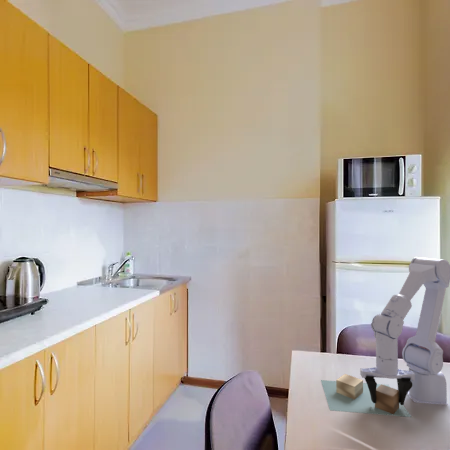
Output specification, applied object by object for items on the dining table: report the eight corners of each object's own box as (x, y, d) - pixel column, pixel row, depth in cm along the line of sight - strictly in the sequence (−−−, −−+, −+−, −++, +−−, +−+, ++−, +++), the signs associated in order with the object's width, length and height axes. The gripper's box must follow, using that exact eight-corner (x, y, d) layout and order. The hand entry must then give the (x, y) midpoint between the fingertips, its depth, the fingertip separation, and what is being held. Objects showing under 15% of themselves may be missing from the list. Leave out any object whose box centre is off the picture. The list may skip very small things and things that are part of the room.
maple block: (363, 392, 100) (362, 380, 100) (354, 399, 96) (354, 386, 96) (345, 385, 104) (344, 373, 104) (336, 392, 100) (336, 379, 100)
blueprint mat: (388, 385, 104) (388, 384, 104) (411, 418, 87) (411, 416, 87) (320, 381, 108) (320, 380, 108) (330, 411, 90) (330, 410, 90)
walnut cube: (399, 407, 91) (399, 390, 91) (393, 414, 88) (393, 396, 88) (381, 400, 95) (381, 384, 95) (375, 407, 92) (374, 390, 92)
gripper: (406, 351, 95) (407, 396, 94) (357, 349, 96) (357, 393, 96) (418, 361, 88) (418, 410, 87) (364, 359, 89) (364, 406, 89)
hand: (387, 402), depth 91 cm, fingers closed on walnut cube, 7 cm apart
